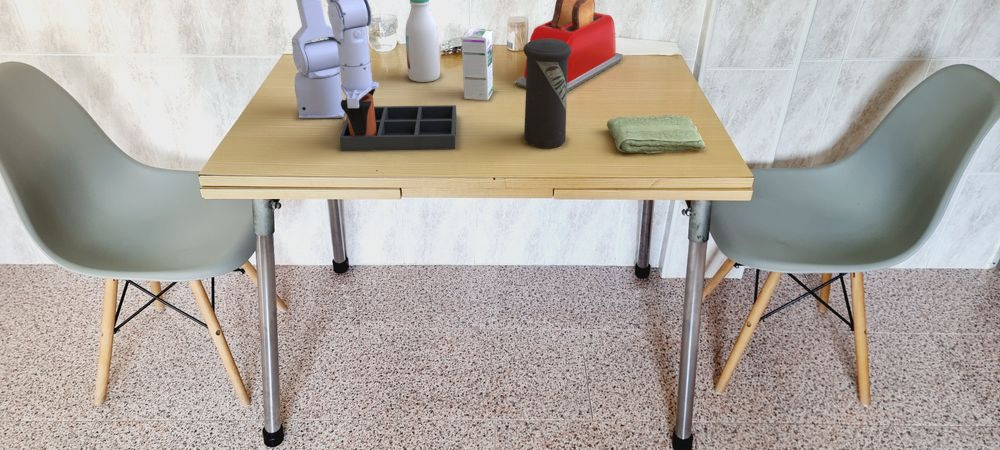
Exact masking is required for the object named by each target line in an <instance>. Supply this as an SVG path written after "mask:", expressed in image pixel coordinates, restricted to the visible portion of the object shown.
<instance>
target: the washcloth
mask: <svg viewBox="0 0 1000 450" xmlns="http://www.w3.org/2000/svg"><path fill="white" fill-rule="evenodd" d="M606 127H607V129H608V131H609V132H610V135H611V137H612V138H614V143H615V146H616V149H617V150H618V151H619V152H622V153H625V154H629V153H631V154H632V153H634V154H636V153H640V154H641V153H646V154H648V155H649V154H659V153H660V154H661V153H679V152H689V151H698V150H699V151H701V150H702V149H705V148H706V143H705V142H704V140H703V138H702V136H701V134H700V132H699V131H698V128H697V126H696V125H694V123H693V121H692V118H691V117H689V116H683V115H673V114H670V115H669V114H668V115H667V114H665V115H652V116H651V115H649V116H633V115H632V116H617V117H614V118H610V119H609V120H607V122H606Z"/></svg>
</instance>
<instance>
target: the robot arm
mask: <svg viewBox="0 0 1000 450" xmlns="http://www.w3.org/2000/svg"><path fill="white" fill-rule="evenodd" d="M295 1H296V6H297V11H298V14H299V19H300V23H301V27H300V28H299V29H298V30H297V32H296V33H294V35H293V37H292V38H291V48H292V59H293V63H294V65H295V66H294V67H295V68H296V70H297V72H296V73H295V76H294V92H295V98H296V104H297V111H298V119H342V118H344V116H345V115H346V117H347V116H348V118H349V120H350V123H351V126H352V129H353V131H354V133H355V135H366V131H367V116H368V110H369V108H370V105H371V102H372V101H362V100H361V98H362V97H363V96H364V95H366V94H367V93H368V94H371V95H372V96H373V97H374V94H375V92H376V90H377V89H379V87H380V82H379V81H373V75H372V66H371V54H370V45H369V35H368V34H369V33H368V27H369V26H370V25H371V23H372V10H371V6H370V3H369V1H368V0H325V1H326V3H327V16H328V17H327V18H328V20H329V24H327V21H326V18H325V13H324V9H323V3H322V0H295ZM320 39H321V40H320ZM343 95H344V96H345V98H346V97H347V100H346V99H344V97H343Z"/></svg>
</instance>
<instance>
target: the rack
mask: <svg viewBox="0 0 1000 450" xmlns="http://www.w3.org/2000/svg"><path fill="white" fill-rule="evenodd" d="M374 110H375V120H376V130H377V136H350V132H349V124H348V116H347V115H346V117H345V120H344V123H343V126H342V128H341V132H340V134H339V137H338V139H339V145H340V151H341V152H361V151H362V152H364V151H367V152H368V151H416V150H419V151H421V150H456V141H457V105H455V104H454V105H452V104H450V105H449V104H448V105H447V104H446V105H445V104H444V105H389V106H388V105H381V106H380V105H379V106H376V105H374Z"/></svg>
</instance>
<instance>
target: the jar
mask: <svg viewBox="0 0 1000 450" xmlns="http://www.w3.org/2000/svg"><path fill="white" fill-rule="evenodd" d="M345 100H347V97H346V96H345ZM361 100H362V101H372V102H371V105H370V108H369V110H368V116H367V131H366V135H355V133H354V131H353V129H352V126H351V123H350V120H349V118H348V124H349V132H350V136H377V130H376V120H375V110H374V106H375V103H374V102H375V101H374V95H373V96H372V95H371V94H368V93H367V94H366V95H364V96H363V97H362V98H361Z"/></svg>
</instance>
